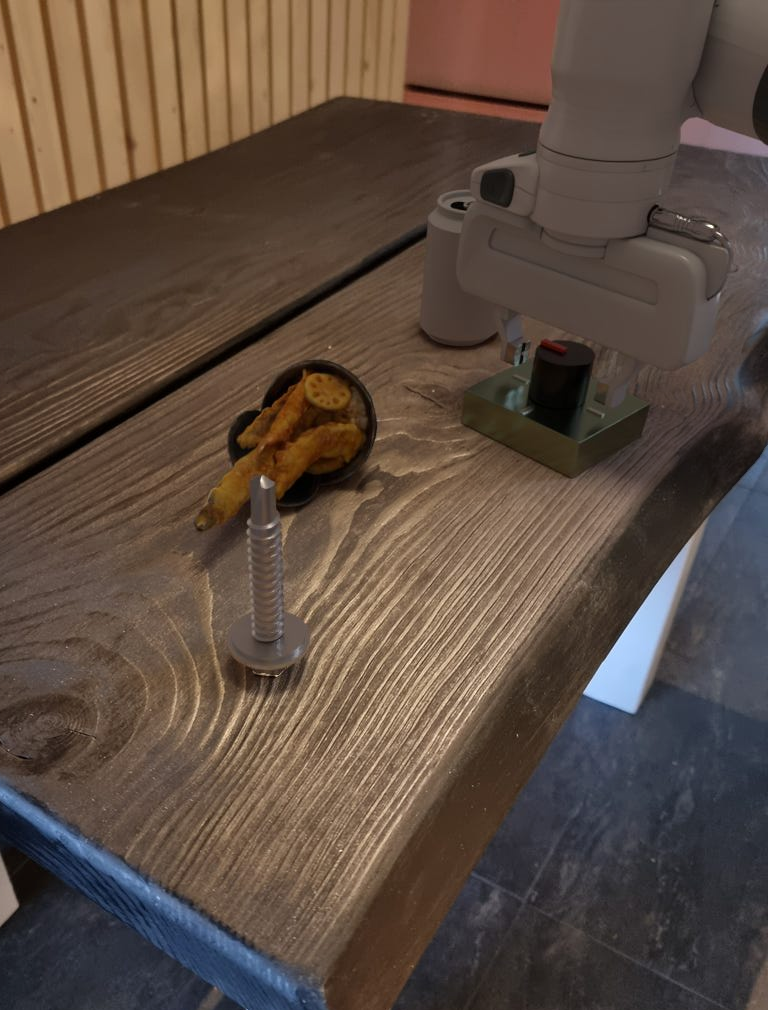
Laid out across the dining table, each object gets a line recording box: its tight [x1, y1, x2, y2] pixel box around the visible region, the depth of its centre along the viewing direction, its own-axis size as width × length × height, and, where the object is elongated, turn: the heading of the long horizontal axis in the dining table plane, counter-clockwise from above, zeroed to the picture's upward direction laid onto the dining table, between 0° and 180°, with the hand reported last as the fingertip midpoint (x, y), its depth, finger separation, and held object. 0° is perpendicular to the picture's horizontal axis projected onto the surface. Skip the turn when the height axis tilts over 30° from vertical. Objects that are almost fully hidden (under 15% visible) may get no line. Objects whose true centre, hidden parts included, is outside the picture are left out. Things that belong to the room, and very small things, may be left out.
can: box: [419, 189, 498, 347], centre depth 83 cm, size 8×8×12 cm
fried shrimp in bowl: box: [193, 359, 378, 536], centre depth 64 cm, size 9×11×18 cm
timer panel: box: [460, 356, 652, 479], centre depth 73 cm, size 11×9×3 cm
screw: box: [225, 474, 311, 675], centre depth 50 cm, size 13×5×5 cm
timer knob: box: [528, 338, 596, 409], centre depth 71 cm, size 4×4×4 cm
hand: (559, 381), depth 71 cm, fingers open, 8 cm apart
